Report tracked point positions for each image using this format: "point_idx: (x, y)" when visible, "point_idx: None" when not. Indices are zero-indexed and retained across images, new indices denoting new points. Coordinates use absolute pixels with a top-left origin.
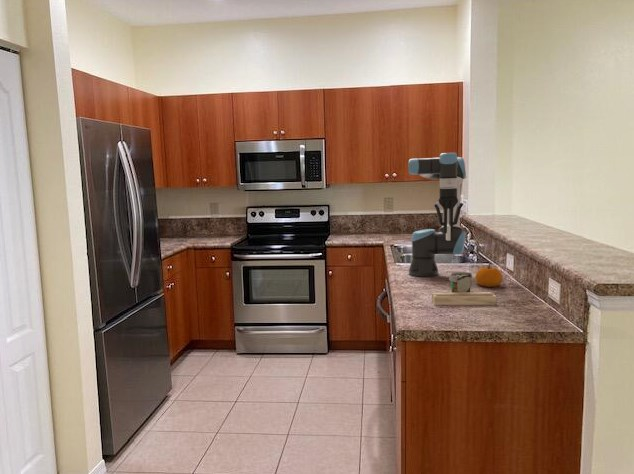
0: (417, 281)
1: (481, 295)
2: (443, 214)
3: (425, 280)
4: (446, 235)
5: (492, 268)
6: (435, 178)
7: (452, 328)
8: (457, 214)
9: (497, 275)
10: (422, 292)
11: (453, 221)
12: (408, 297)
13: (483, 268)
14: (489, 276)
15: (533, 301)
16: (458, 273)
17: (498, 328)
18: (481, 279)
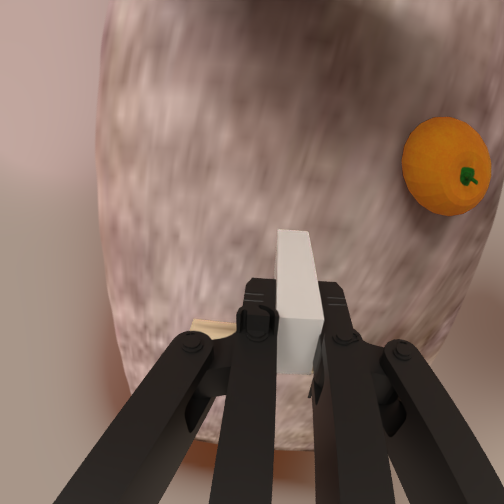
0: (184, 47)
1: (312, 369)
2: (213, 474)
3: (220, 30)
4: (275, 276)
5: (473, 188)
6: None
7: (210, 436)
8: (417, 492)
9: (463, 213)
10: (176, 224)
11: (388, 369)
12: (133, 276)
13: (446, 180)
14: (436, 213)
15: (432, 338)
16: None
17: (276, 442)
18: (411, 193)
